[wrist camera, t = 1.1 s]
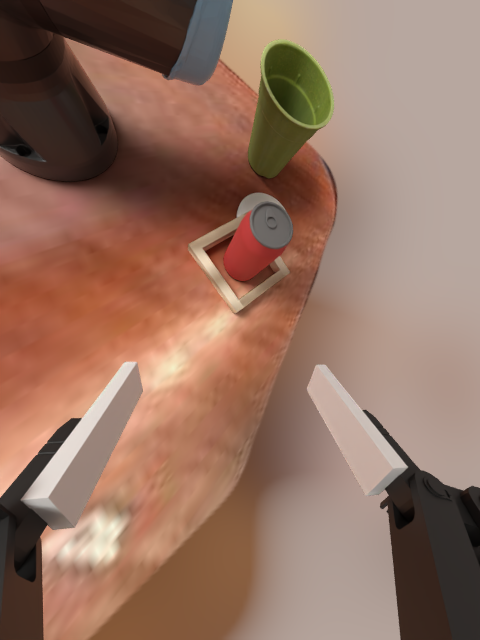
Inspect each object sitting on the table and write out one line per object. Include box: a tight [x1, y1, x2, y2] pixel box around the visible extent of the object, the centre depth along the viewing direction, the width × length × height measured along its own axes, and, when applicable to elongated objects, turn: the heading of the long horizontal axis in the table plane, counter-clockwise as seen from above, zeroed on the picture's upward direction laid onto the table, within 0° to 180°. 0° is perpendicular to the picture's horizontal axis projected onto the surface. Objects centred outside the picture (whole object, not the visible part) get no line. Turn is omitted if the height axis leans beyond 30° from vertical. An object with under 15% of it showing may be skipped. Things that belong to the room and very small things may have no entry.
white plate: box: [236, 193, 286, 218], centre depth 32 cm, size 11×11×1 cm
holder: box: [188, 210, 290, 314], centre depth 30 cm, size 13×13×2 cm
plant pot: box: [248, 39, 334, 178], centre depth 28 cm, size 12×12×11 cm
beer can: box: [224, 201, 293, 281], centre depth 25 cm, size 7×7×12 cm
